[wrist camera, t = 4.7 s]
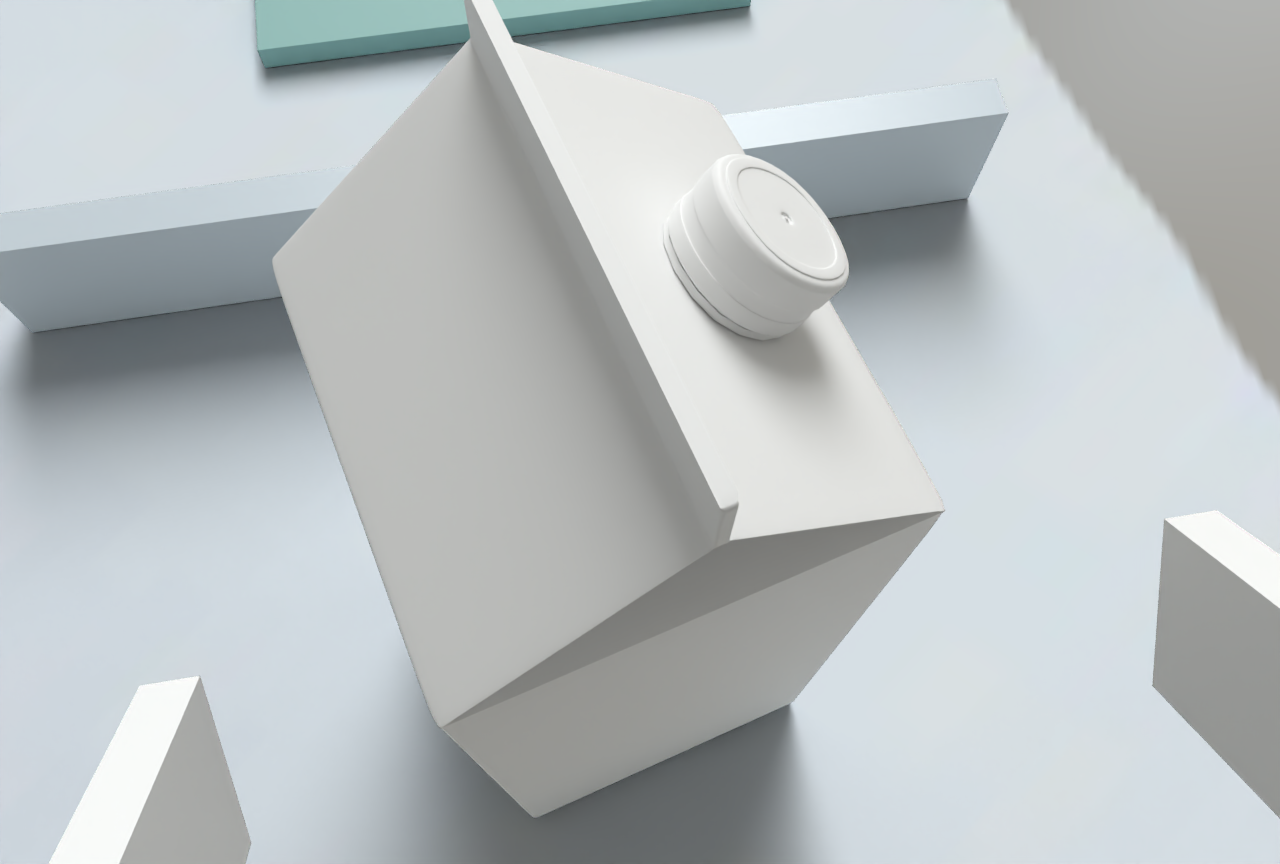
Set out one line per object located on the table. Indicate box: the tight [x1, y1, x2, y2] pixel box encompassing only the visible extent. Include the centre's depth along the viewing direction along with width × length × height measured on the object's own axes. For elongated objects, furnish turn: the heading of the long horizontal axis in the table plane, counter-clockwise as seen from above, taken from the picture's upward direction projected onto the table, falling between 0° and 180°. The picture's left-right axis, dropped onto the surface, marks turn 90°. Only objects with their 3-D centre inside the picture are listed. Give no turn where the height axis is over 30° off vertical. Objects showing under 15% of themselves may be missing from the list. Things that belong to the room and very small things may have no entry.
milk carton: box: [272, 0, 945, 818], centre depth 20 cm, size 7×7×19 cm
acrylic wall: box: [0, 78, 1009, 332], centre depth 32 cm, size 28×1×4 cm, turn 100°
